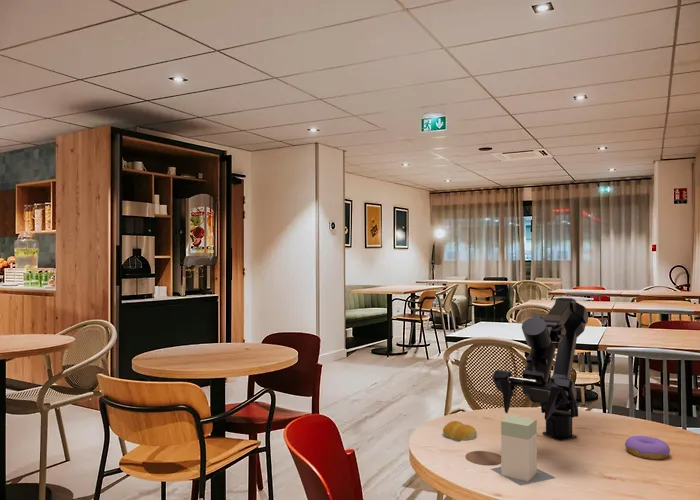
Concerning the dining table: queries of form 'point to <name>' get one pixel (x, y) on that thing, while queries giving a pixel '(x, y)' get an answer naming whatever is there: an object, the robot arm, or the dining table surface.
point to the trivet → (484, 458)
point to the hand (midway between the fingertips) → (525, 415)
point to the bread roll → (459, 431)
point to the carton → (519, 447)
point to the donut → (647, 447)
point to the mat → (536, 478)
